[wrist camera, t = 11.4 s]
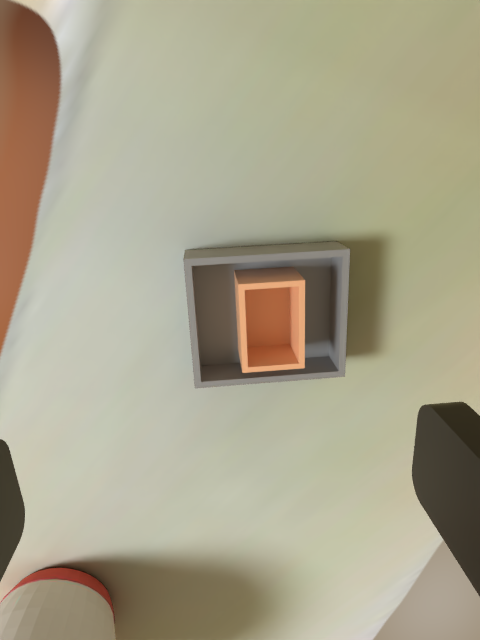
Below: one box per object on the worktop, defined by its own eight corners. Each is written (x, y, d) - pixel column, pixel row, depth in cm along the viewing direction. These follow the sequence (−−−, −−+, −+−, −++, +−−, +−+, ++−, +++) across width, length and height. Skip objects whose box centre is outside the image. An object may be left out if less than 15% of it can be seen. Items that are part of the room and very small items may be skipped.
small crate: (234, 270, 41) (238, 284, 36) (293, 266, 41) (305, 280, 36) (238, 350, 43) (242, 373, 39) (293, 345, 44) (304, 368, 39)
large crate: (185, 250, 40) (183, 259, 36) (336, 241, 41) (350, 249, 37) (195, 369, 44) (194, 388, 41) (333, 358, 45) (344, 376, 41)
